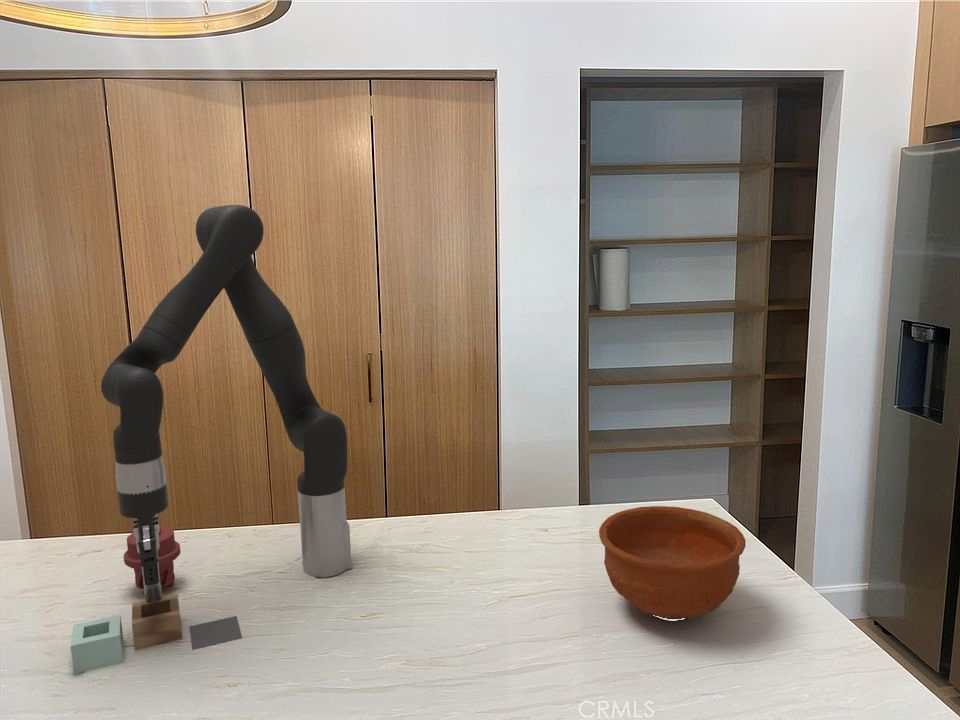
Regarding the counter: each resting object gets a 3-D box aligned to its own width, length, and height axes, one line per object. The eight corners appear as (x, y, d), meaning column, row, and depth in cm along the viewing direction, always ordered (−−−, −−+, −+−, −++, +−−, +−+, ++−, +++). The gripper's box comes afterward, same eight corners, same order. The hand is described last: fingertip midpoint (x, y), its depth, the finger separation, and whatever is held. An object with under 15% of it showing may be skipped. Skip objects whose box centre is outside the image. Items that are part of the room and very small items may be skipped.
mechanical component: (194, 578, 149) (163, 604, 139) (149, 574, 151) (116, 599, 141) (188, 520, 146) (157, 542, 137) (143, 517, 148) (109, 538, 139)
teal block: (123, 641, 127) (120, 614, 126) (122, 663, 121) (119, 635, 120) (77, 651, 124) (73, 624, 123) (74, 674, 118) (70, 646, 117)
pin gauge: (162, 593, 129) (155, 534, 127) (162, 601, 127) (156, 540, 125) (145, 597, 128) (138, 537, 126) (145, 604, 126) (138, 543, 124)
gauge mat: (236, 617, 134) (236, 615, 134) (242, 639, 127) (242, 638, 127) (189, 627, 131) (189, 626, 131) (192, 651, 124) (192, 649, 124)
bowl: (772, 620, 130) (777, 540, 127) (667, 666, 117) (670, 578, 114) (668, 565, 150) (671, 495, 148) (570, 599, 138) (571, 523, 135)
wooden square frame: (180, 619, 134) (177, 594, 133) (182, 640, 127) (179, 613, 126) (135, 629, 131) (132, 603, 130) (135, 651, 124) (131, 624, 123)
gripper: (167, 493, 119) (177, 593, 122) (164, 467, 131) (174, 558, 134) (115, 501, 116) (127, 603, 119) (117, 474, 128) (128, 567, 131)
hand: (152, 579), depth 127 cm, fingers closed on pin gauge, 2 cm apart
